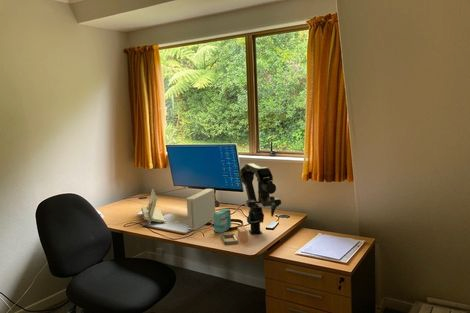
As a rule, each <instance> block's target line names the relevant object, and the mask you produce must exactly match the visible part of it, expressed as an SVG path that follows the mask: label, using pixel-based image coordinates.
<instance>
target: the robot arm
mask: <svg viewBox="0 0 470 313" xmlns="http://www.w3.org/2000/svg"><path fill="white" fill-rule="evenodd" d="M244 164H245V165H244V166H243V167H241V169H240V170H239V173H238V175H239V178H240V181H241V182H242V184H243V185H244V186H245V191H246V196H247V200H246V201H245V204H246V206H247V207H248V208H249V210H248V216H247V218H246V222H247V224H249V226H250V230H248V231H249V232H248V233H250V235H259V234H263V232H262V230H261V223H264V218H265V214H264V212H263V208H262V207H261V206H259V205H262V206H263V207H264V208H265V207H270V216H271V218H273V217H274V214H275V211H276V209H277V207H279V206H281V205H282V200H281V199H280V198H279V197H275V196H270V195H273V194H275V193H276V191H277V186H276V185H275V183H273V182H274V176H273V174H272V172H271V169H270V167H268V166H259V165H257V164H255V163H253V162H249V163H244ZM254 176H255V177H256V181H257V193H258V194H257V195H256V192H255V187H254V184H253V182H254V178H255V177H254ZM257 197H258V198H257Z"/></svg>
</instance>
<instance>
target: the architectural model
mask: <svg viewBox="0 0 470 313" xmlns="http://www.w3.org/2000/svg"><path fill="white" fill-rule="evenodd" d="M157 200H158V196H157V194H156V192H155V190H154V188H152V189H151V192H150V196H149V200H148V204H147V206H143V205H142V206H141V212H142V217H143V219H144V220H145V221H146V220H147V223H148V225H149V224H150V225H151V222H157V223H161V222H166V223H167V220H166V218H165V217H164V214H163V212H162V211H161V209H156V205H157V202H158V201H157Z"/></svg>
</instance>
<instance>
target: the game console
mask: <svg viewBox="0 0 470 313" xmlns="http://www.w3.org/2000/svg"><path fill="white" fill-rule="evenodd" d="M215 201H216V200H215V189H214V188H206V189H204V190H201V191H199V192H197V193H196V194H193V195H191V196H189V197H186V208H187V209H186V211H187V213H186V214H187V226H188V227H187V229H188V228H191V229H193V230H192V231H197V230H198V229H199V228H201V227H203V226H204V225H206V224H208V223H209V222H211V221H213V220H214V213H216V202H215Z"/></svg>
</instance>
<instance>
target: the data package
mask: <svg viewBox="0 0 470 313" xmlns="http://www.w3.org/2000/svg"><path fill="white" fill-rule="evenodd" d="M231 218H232V217H231V210H230V209H227V208H222V209H219V210H218V211H215V213H214V219H213V227H214V230H213V231H214V233H219V234H222V233H224V232H226V231H228V230H229V228H230V229H231V227H232V219H231Z"/></svg>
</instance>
